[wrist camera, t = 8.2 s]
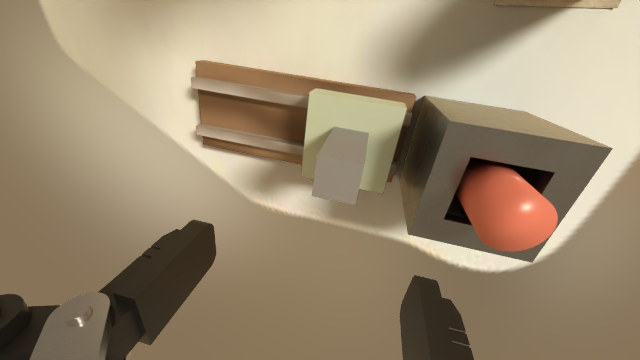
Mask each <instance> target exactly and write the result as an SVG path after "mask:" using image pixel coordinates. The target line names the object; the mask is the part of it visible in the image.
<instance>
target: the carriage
mask: <svg viewBox="0 0 640 360" xmlns="http://www.w3.org/2000/svg"><path fill="white" fill-rule="evenodd" d="M406 110H407V107H406V105H405V103H403V102H397V101H391V100H385V99H379V98H373V97H367V96H361V95H354V94H348V93H342V92H336V91H330V90H324V89H318V88H316V89H314V90H312V91H310V92H309V102H308V112H307V122H306V132H305V142H304V152H303V161H302V171H301V177H305V178H309V179H314V184H313V191H312V196H315V197H319V198H324V199H328V200H333V201H337V202H342V203H347V204H351V205H356V201H357V196H358V192H359V189H362V190H367V191H371V192H376V193H381V194H383V192H384V188H385V185H386V181H387V178H388V174H389V170H390V167H391V163H392V160H393V156H394V153H395V149H396V146H397V142H398V138H399V135H400V131H401V128H402V124H403V121H404V117H405V114H406Z"/></svg>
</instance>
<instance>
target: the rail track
mask: <svg viewBox="0 0 640 360" xmlns="http://www.w3.org/2000/svg"><path fill="white" fill-rule="evenodd" d="M196 72H197V77H191V85H192V88H195V89H198V93H199V104H200V114H201V124H199V125H197V126H196V132H197V135H201V136H203V144H204V145H209V146H214V147H219V148H224V149H229V150H234V151H238V152H243V153H248V154H253V155H258V156H263V157H268V158H273V159H278V160H283V161H287V162H292V163H297V164H302V161H303V152H304V142H305V132H306V122H307V112H308V102H309V92H310V91H312V90H314V89H316V88H318V89H324V90H330V91H336V92H342V93H348V94H354V95H361V96H367V97H373V98H379V99H385V100H391V101H397V102H403V103H405V105H406V107H407V110H406V114H405V117H404V121H403V124H402V128H401V131H400V135H399V138H398V142H397V146H396V149H395V153H394V156H393V160H392V163H391V167H390V170H389V174H388V178H387V181H386V182H390V183H391V181H392V178H393V174H395V173H396V170H397V166H398V163H397V160H398V157H399V154H400V150H401V147H402V143H403V140H404V136H405V133H406V130H407V126H410V122H411V119H412V113H411V112H412V109H413V105H414V102H415V99H416V96H415V94H411V93H405V92H398V91H392V90H386V89H380V88H373V87H367V86H361V85H355V84H348V83H342V82H336V81H330V80H323V79H317V78H311V77H304V76H298V75H292V74H286V73H279V72H273V71H267V70H261V69H254V68H248V67H242V66H236V65H229V64H223V63H217V62H211V61H196Z"/></svg>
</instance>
